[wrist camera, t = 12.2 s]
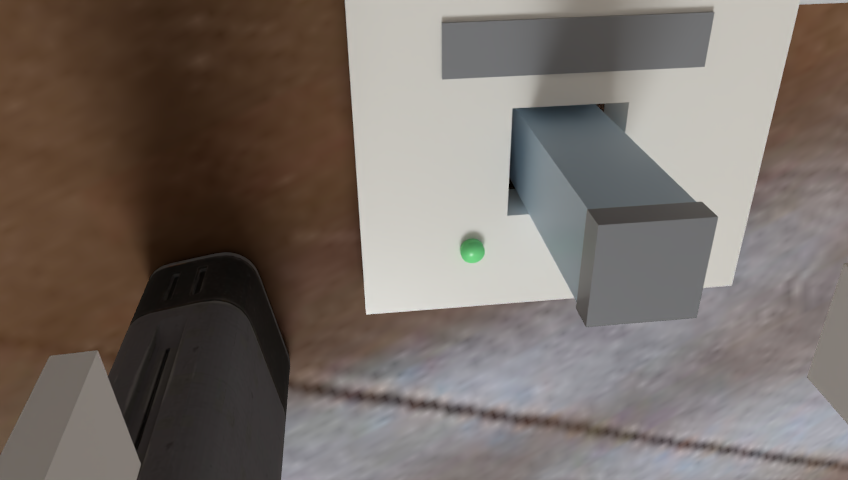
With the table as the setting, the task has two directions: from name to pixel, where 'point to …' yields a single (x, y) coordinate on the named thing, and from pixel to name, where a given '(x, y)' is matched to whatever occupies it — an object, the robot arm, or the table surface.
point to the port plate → (542, 87)
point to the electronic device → (204, 374)
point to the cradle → (821, 1)
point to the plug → (610, 216)
